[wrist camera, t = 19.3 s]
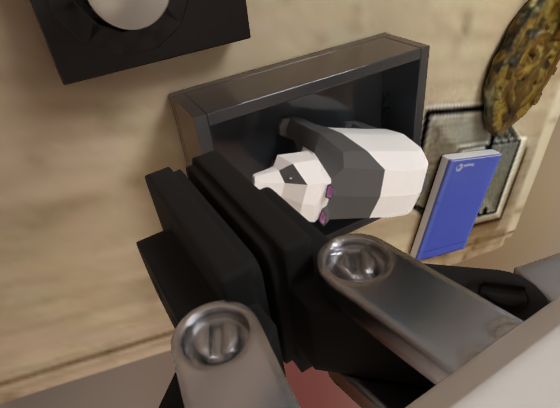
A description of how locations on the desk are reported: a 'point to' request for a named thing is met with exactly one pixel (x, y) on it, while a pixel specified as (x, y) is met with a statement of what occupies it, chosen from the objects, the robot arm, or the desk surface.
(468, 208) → the hard drive
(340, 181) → the giant panda
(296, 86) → the dark grey shallow box
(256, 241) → the robot arm
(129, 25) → the tap button
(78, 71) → the black knob plate
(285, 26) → the desk surface
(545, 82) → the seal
